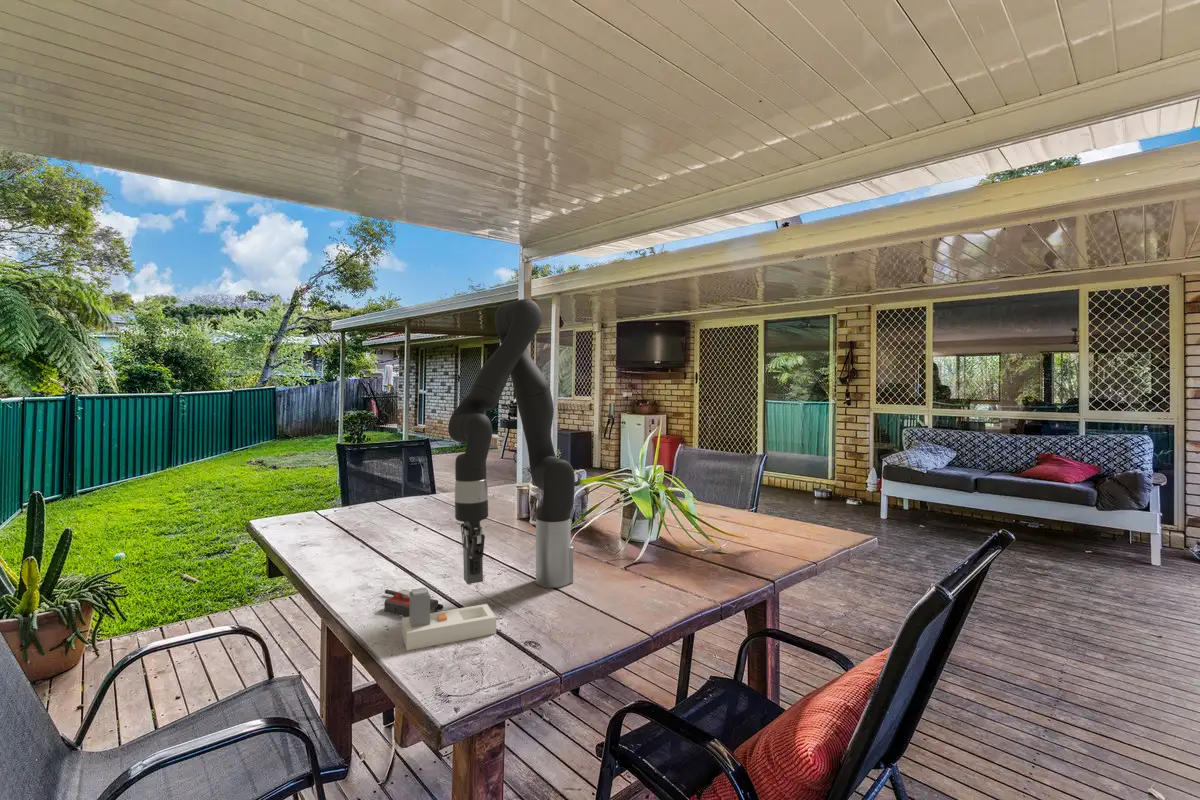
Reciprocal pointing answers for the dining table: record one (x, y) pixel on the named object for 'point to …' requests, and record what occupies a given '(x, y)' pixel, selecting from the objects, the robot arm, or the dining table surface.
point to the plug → (467, 576)
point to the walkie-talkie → (404, 603)
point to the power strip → (443, 622)
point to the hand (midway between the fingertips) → (473, 571)
